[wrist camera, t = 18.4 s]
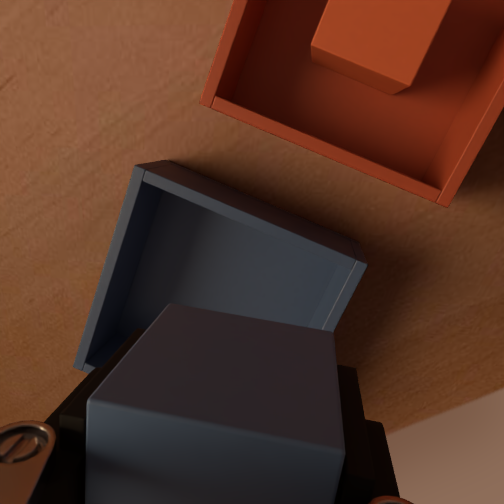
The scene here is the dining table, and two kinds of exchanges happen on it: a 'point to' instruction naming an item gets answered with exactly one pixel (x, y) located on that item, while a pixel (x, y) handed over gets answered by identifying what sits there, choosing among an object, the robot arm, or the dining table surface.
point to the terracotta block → (377, 39)
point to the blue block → (217, 415)
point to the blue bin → (213, 260)
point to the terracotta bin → (366, 94)
